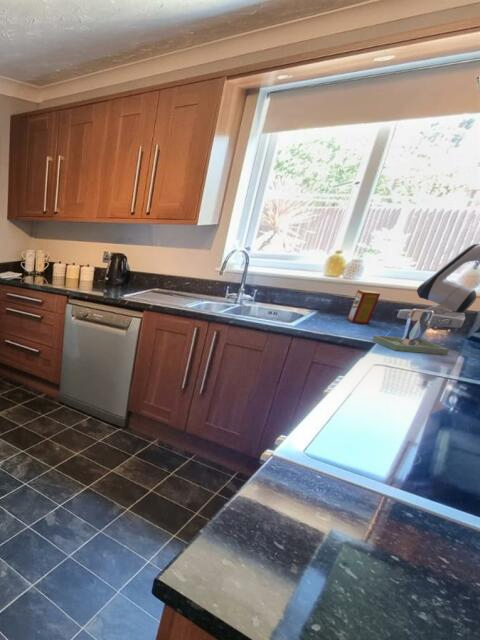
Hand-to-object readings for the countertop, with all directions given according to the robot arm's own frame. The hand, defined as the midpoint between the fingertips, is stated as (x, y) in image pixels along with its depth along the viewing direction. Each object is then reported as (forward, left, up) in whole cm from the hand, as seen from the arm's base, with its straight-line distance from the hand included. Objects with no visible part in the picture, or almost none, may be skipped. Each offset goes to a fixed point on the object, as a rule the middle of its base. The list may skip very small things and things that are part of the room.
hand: (425, 319), depth 180 cm
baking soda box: (0, -43, -11) cm, 45 cm away
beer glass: (+6, +7, -10) cm, 14 cm away
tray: (+6, +7, -11) cm, 14 cm away
